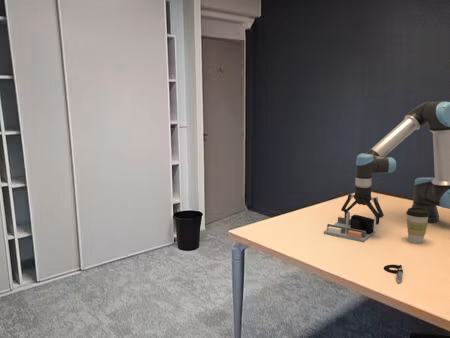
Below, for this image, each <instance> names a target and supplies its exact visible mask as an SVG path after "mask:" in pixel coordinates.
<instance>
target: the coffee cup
mask: <svg viewBox="0 0 450 338" xmlns="http://www.w3.org/2000/svg"><path fill="white" fill-rule="evenodd" d="M429 216H430V214H429V212H428V210H426V209H422V208H411V207H409V208H408V209H407V210H406V225H407V226H406V227H407V234H408V235H407V239H408V241H409V242H411V243H414V244H422V243H423V242H424V238H425V235H426V231H427V226H428V223H429V222H428V217H429Z"/></svg>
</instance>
